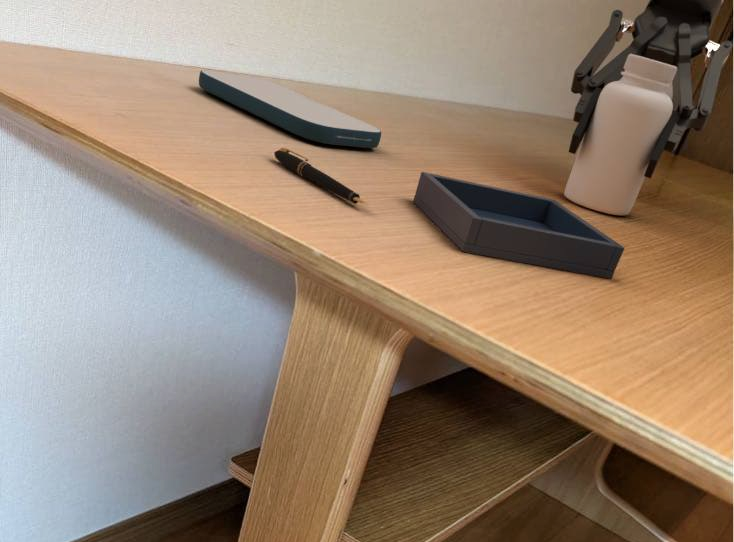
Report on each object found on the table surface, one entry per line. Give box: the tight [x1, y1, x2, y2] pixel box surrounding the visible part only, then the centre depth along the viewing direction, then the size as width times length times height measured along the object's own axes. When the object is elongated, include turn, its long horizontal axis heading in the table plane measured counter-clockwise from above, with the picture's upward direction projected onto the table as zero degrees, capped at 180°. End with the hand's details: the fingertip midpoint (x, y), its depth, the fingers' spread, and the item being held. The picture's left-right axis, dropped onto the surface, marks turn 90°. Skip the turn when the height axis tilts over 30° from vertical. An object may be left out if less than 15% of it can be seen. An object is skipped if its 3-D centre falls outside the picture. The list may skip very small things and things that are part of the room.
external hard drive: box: [198, 69, 382, 149], centre depth 93 cm, size 24×12×2 cm, turn 40°
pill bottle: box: [563, 54, 677, 216], centre depth 90 cm, size 8×8×15 cm
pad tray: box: [412, 171, 625, 280], centre depth 70 cm, size 14×14×3 cm
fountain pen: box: [273, 147, 368, 206], centre depth 70 cm, size 14×1×2 cm, turn 35°
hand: (611, 156), depth 89 cm, fingers closed on pill bottle, 8 cm apart
